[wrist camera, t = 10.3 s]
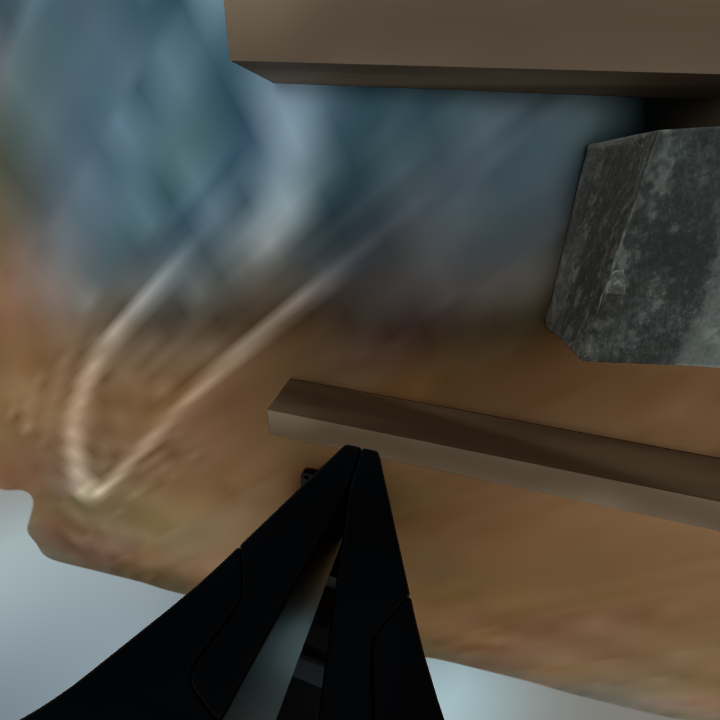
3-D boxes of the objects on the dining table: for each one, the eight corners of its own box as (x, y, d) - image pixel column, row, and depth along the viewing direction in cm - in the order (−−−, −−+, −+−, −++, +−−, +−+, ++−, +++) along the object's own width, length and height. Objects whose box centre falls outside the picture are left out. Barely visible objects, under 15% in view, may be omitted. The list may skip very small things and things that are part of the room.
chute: (781, 497, 19) (843, 557, 16) (291, 401, 24) (269, 433, 21) (1325, 27, 9) (1772, -45, 6) (269, 20, 13) (221, -22, 10)
